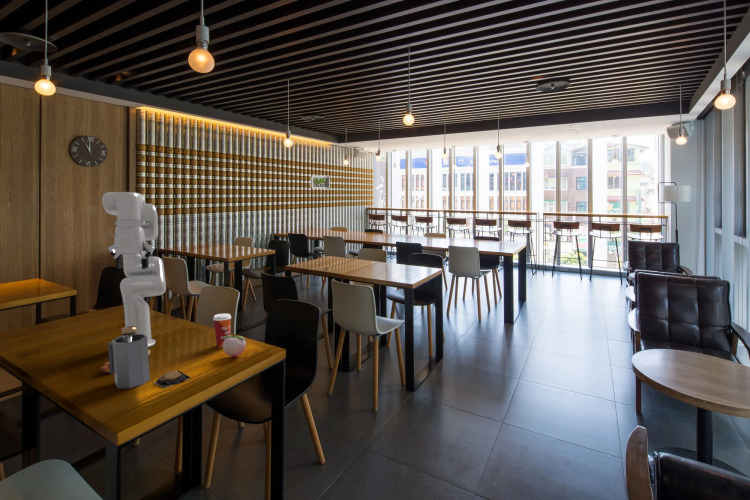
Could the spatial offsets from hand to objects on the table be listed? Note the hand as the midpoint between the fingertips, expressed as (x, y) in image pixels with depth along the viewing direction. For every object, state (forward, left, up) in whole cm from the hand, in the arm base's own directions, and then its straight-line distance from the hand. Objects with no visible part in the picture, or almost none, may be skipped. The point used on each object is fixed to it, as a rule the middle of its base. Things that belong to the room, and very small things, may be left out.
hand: (132, 268), depth 151 cm
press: (+7, -17, -38) cm, 42 cm away
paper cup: (+26, +20, -38) cm, 51 cm away
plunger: (+8, -17, -37) cm, 41 cm away
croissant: (-4, -2, -39) cm, 39 cm away
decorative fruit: (+36, +6, -38) cm, 53 cm away
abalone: (+22, -16, -39) cm, 47 cm away
